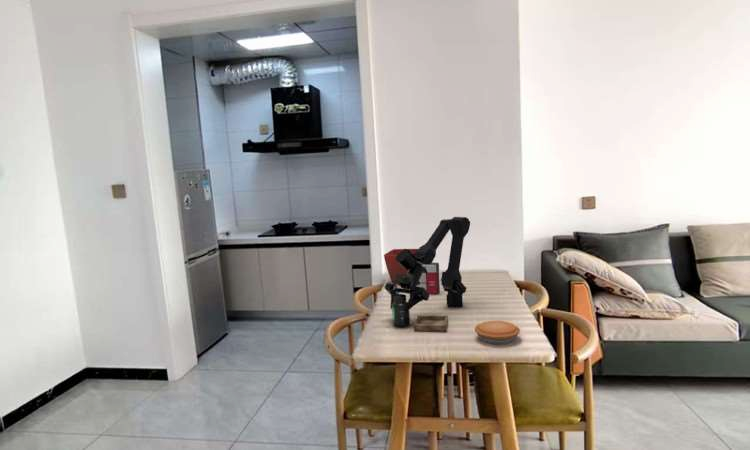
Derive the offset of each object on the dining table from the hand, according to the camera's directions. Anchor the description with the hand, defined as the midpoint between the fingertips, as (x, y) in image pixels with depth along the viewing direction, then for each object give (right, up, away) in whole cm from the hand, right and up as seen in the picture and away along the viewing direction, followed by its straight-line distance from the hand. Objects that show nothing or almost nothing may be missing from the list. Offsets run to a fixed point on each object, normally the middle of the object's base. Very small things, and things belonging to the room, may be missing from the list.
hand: (398, 309), depth 183 cm
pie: (+34, -7, -18) cm, 39 cm away
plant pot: (+8, +2, +73) cm, 74 cm away
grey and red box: (+17, -1, +47) cm, 50 cm away
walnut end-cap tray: (+13, -6, -2) cm, 14 cm away
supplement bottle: (+1, -7, +2) cm, 7 cm away
